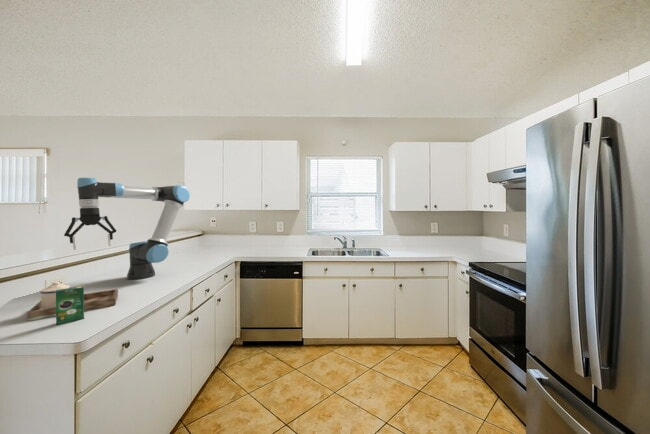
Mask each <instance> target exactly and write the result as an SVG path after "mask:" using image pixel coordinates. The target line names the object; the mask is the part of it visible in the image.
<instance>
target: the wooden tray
mask: <svg viewBox="0 0 650 434" xmlns="http://www.w3.org/2000/svg"><path fill="white" fill-rule="evenodd" d="M118 290H119V289H118V288H115V289H108V290H101V291H94V292H89V293H84V312H85V311H92V310H97V309H102V308H103V309H104V308H108V307H113V306H116V303H117V301H118V296H119V292H118ZM26 315H27V321H28V322H29V321H35V320H41V319H47V318H52V317H56V307H53V308H47V309H42V299H40V301H38V302H37V303H36V304H34V306H33V307H32V308H30V309H29V310H28V311H27V314H26Z"/></svg>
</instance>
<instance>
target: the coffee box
mask: <svg viewBox="0 0 650 434" xmlns="http://www.w3.org/2000/svg"><path fill="white" fill-rule="evenodd" d="M84 294H85V288H84V286H83V285H81V286H74V287H73V286H72V287H71V288H67V289H60V290H56V316H55V321H56V322H55V323H56V325H60V324H61V325H62V324H65V323H69V322H74V321H79V320H82V319H84V320H85V311H84Z"/></svg>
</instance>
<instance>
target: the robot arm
mask: <svg viewBox="0 0 650 434" xmlns="http://www.w3.org/2000/svg"><path fill="white" fill-rule="evenodd" d="M76 188H77V193H78V195H77V196H78V205H79V217H74V216H73V217H72V218H71V222H70V223H69V226H68V228H67V230H66V231H65V232H64V237H68V238H69V244H72V247H73V250H77V240H76V238H77V237H76V234H77V233H78V232H79V231H80V230H81V229H83V227H84V226H96V225H98V226H99V227H100V228H102V229H103V230H104V231H105V232H107V241H108V242H107V243H108V244H107V245H108V247H111V246H112V244H111V240H113V239H114V238H113V237H114V236H113V234H114V233H117V229H116V228H115V226H113V224H112V223H111V221H110V220H109V216H107V215H104V216H101V215H100V214H101V213H100V208H99V206H100V205H99V204H100V201H99V198H112V199H113V198H115V199H116V198H117V199H138V200H139V199H140V200H143V199H144V200H151V201H152V202H162V203H164V204H165V205H164V206H163V209H162V211H161V213H160V217H159V219H158V221H157V224H156V226H155V229H154V232H153V234H152V236H151V237H150V238H148V239H147V240H146V241H140V242H133V243H132V242H131V243H130V244H129V246H128V247H129V249H128V250H129V269H128V271H127V274H126V278H127V280H142V279H143V280H144V279H148V278H152V277H154V276H155V275H156V271H155V268H154V266H153V264H158V263H161V262H163V261H165V260H166V259H167V258H168V256H169V253H170V251H169V247H168V246H169V242H167V241H168V239H169V235H170V232H171V231H172V229H173V226H174V223H175V220H176V217H177V214H178V213H179V209H181V208H183V206H184V205H185V204H184V203H186V202H189V200H190V197H191V193H190V191H189V189H188V188H187V187H186V186H185V185H181V184H179V185H178V184H177V185H167V186H166V185H165V186H152V187H140V186H139V187H138V186H128V185H123V184H122V183H119V182H118V183H117V182H100V181H98V180H97V178H95V177H79V178H77V186H76ZM101 220H103V221H105V223H106V224H107V225H108V227H109V228H110V229H109V228H108V227H107V226H106V225H104V224H103V223H102V222H100V221H101ZM78 221H80V222H81V223H80V224H79V225H78V226H77V227H76V229H75V230H73V231H72V229H73V227H74V226H75V224H76V222H78ZM71 231H72V232H71Z"/></svg>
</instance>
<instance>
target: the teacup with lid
mask: <svg viewBox="0 0 650 434" xmlns="http://www.w3.org/2000/svg"><path fill="white" fill-rule="evenodd" d="M67 288H72V287H71V286H70V285H68V284H62V283H60V282H59V281H54V282H52V285H49V286H46V287H45V288H43V289H41V290H40V295H41V300H42V309H47V308H53V307H56V290H60V289H67Z"/></svg>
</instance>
